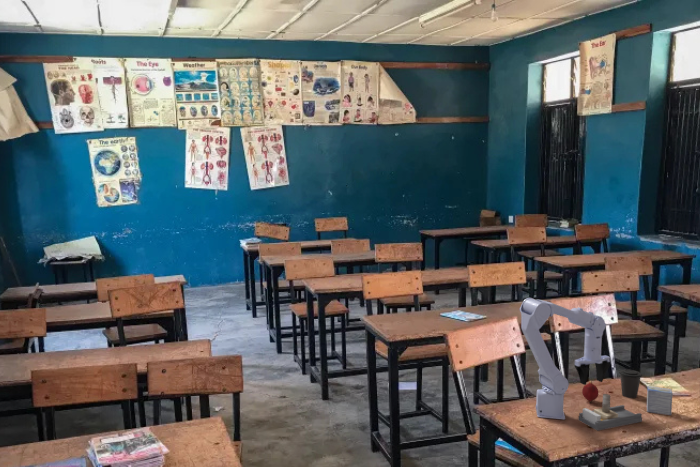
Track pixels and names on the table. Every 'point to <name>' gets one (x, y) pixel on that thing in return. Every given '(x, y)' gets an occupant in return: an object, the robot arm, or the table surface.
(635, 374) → the coffee cup
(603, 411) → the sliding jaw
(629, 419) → the rail base
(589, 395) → the onion
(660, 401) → the medicine box
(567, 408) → the table surface
